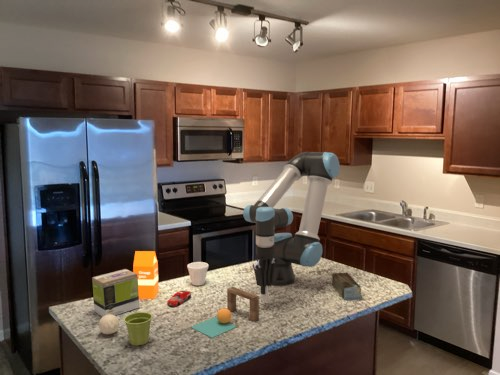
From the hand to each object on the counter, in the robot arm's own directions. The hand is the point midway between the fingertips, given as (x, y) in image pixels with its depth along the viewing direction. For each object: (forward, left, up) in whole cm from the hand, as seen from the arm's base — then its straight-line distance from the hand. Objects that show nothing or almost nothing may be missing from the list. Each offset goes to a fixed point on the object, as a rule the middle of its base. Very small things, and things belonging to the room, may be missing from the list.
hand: (265, 300), depth 175 cm
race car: (+22, -29, -3) cm, 37 cm away
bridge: (+13, 0, -2) cm, 13 cm away
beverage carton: (-36, +16, -2) cm, 40 cm away
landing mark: (+28, 0, -2) cm, 28 cm away
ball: (+23, 0, +1) cm, 23 cm away
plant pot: (+53, -10, -2) cm, 54 cm away
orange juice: (+28, -45, -2) cm, 53 cm away
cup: (+3, -40, -2) cm, 40 cm away
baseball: (+57, -23, -2) cm, 62 cm away
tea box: (+45, -40, -2) cm, 60 cm away
